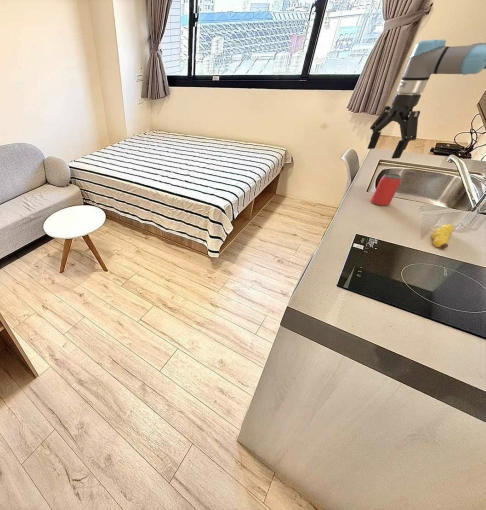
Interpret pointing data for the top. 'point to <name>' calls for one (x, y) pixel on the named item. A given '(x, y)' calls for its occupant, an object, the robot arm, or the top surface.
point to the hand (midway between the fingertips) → (382, 153)
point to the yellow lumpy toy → (442, 235)
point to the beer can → (386, 189)
